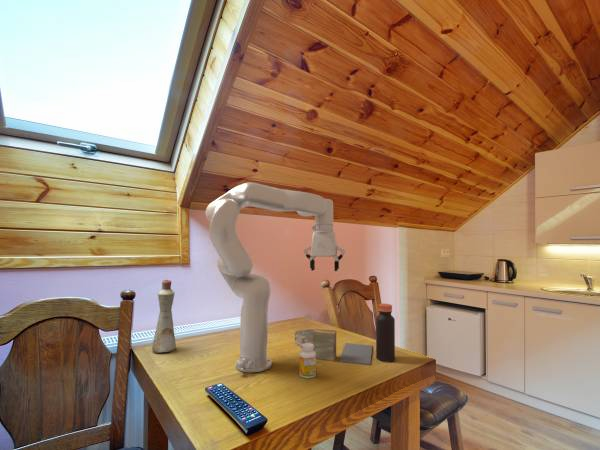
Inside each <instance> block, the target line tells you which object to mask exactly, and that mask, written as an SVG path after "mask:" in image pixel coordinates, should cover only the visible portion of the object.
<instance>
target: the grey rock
mask: <svg viewBox="0 0 600 450" xmlns="http://www.w3.org/2000/svg"><path fill="white" fill-rule="evenodd" d="M315 329H316V328H315ZM315 329H314V328H313V329H299V330H295V332H294V341H295V345H297V347H300V348H301V349H302V344H304V343H312V344H313V332H314V330H315Z"/></svg>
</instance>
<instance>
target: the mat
mask: <svg viewBox="0 0 600 450" xmlns="http://www.w3.org/2000/svg"><path fill="white" fill-rule="evenodd" d="M372 351H373V345H371V344H362V343H361V344H360V343H350V342H349V343H348V342H345V343H344V347H343V349H342V352H341V355H340V357H339V362H340V363H347V364H357V365H364V366H371V363H372V353H373V352H372Z"/></svg>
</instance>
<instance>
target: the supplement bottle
mask: <svg viewBox="0 0 600 450" xmlns="http://www.w3.org/2000/svg"><path fill="white" fill-rule="evenodd" d="M313 350H314V344H312V343H304V344H302V348H301V351H299V373H298V374H299V376H300V377H301V378H303V379H313V378H315V377H316V374H317V359H316V353H315V351H313Z"/></svg>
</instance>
